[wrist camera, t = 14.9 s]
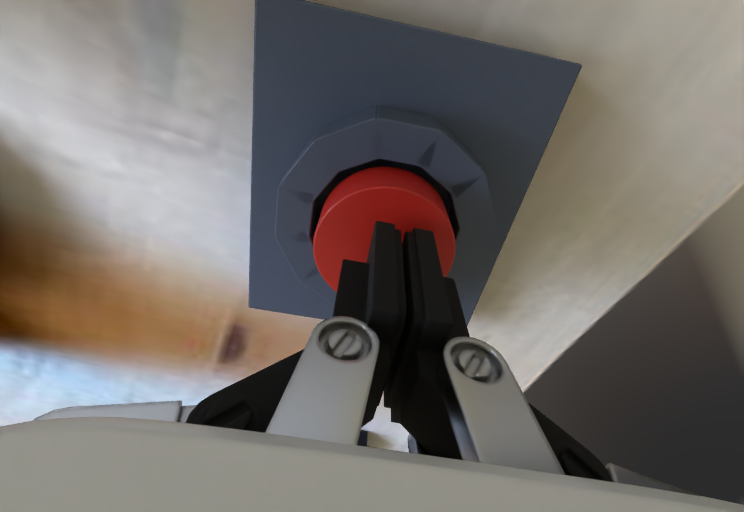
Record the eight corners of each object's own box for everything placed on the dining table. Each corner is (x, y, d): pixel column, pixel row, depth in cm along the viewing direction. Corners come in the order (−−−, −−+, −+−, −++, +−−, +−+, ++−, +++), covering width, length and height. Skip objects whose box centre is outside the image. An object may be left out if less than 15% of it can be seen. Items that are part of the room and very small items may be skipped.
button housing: (273, -7, 13) (233, -15, 9) (555, 58, 13) (614, 71, 10) (261, 279, 19) (235, 336, 16) (453, 311, 20) (468, 371, 16)
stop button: (329, 153, 12) (321, 172, 10) (464, 180, 12) (475, 202, 11) (313, 267, 14) (306, 297, 13) (428, 287, 14) (433, 318, 13)
